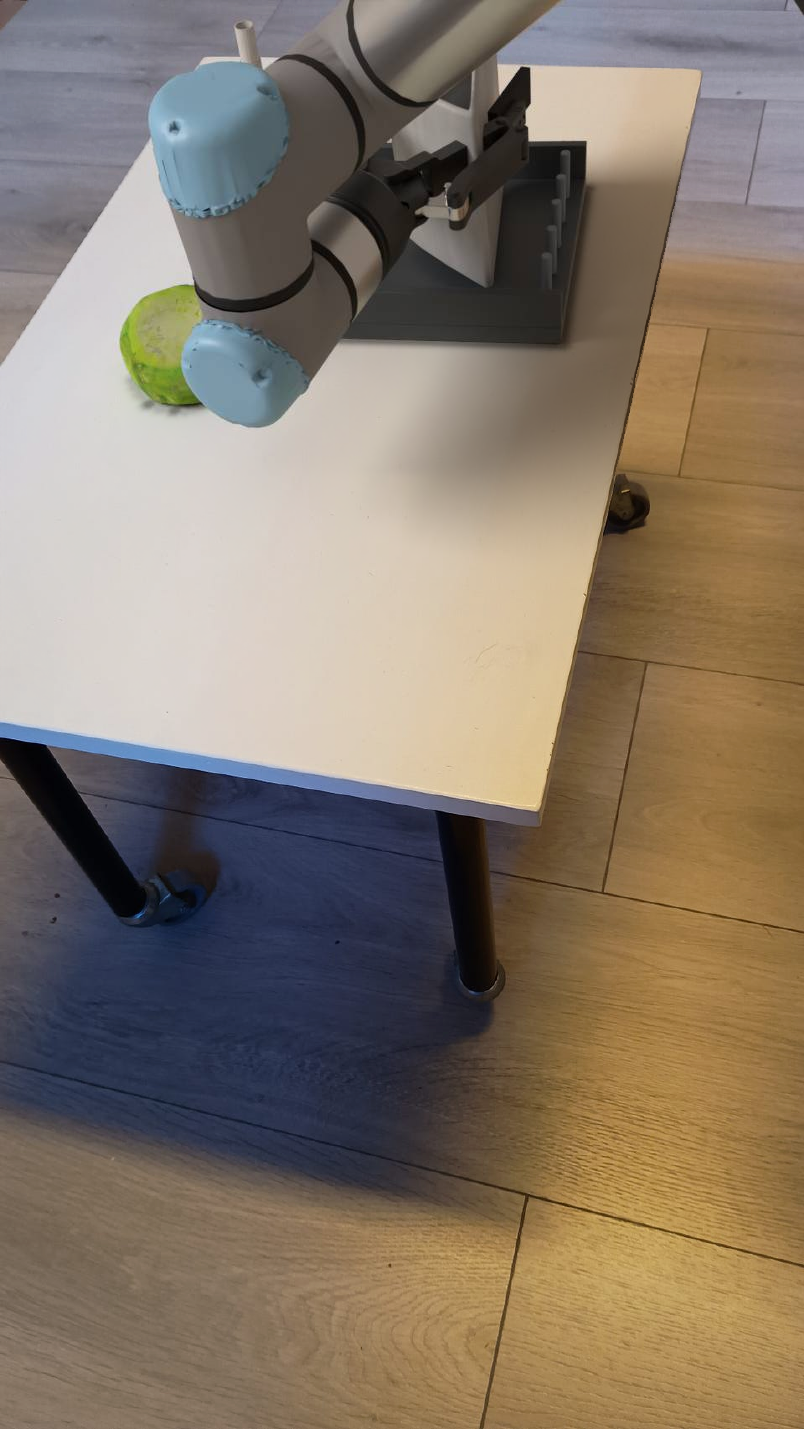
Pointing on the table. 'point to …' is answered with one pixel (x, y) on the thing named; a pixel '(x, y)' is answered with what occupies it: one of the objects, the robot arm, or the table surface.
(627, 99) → the table surface
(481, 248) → the planter
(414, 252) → the dish rack
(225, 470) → the table surface
